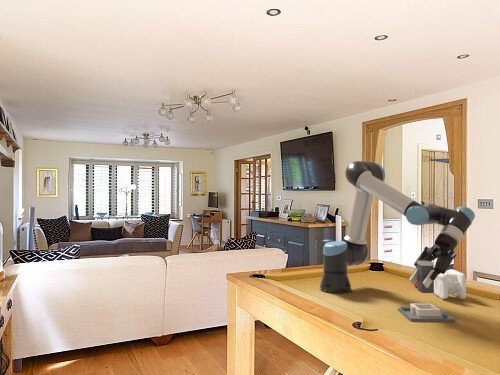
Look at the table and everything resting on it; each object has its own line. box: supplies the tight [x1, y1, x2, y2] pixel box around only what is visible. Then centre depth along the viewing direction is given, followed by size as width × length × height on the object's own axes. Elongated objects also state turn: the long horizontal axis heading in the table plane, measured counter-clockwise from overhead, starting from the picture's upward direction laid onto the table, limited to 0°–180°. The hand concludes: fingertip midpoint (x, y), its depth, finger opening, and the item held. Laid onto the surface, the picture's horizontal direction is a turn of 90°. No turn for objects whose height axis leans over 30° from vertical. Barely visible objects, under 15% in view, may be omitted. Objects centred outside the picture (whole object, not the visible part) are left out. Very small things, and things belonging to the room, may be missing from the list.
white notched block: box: [433, 268, 467, 300], centre depth 176 cm, size 15×11×12 cm
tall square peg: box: [417, 261, 434, 294], centre depth 148 cm, size 4×4×12 cm
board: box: [397, 303, 456, 323], centre depth 147 cm, size 16×14×4 cm
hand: (418, 283), depth 146 cm, fingers closed on tall square peg, 6 cm apart
